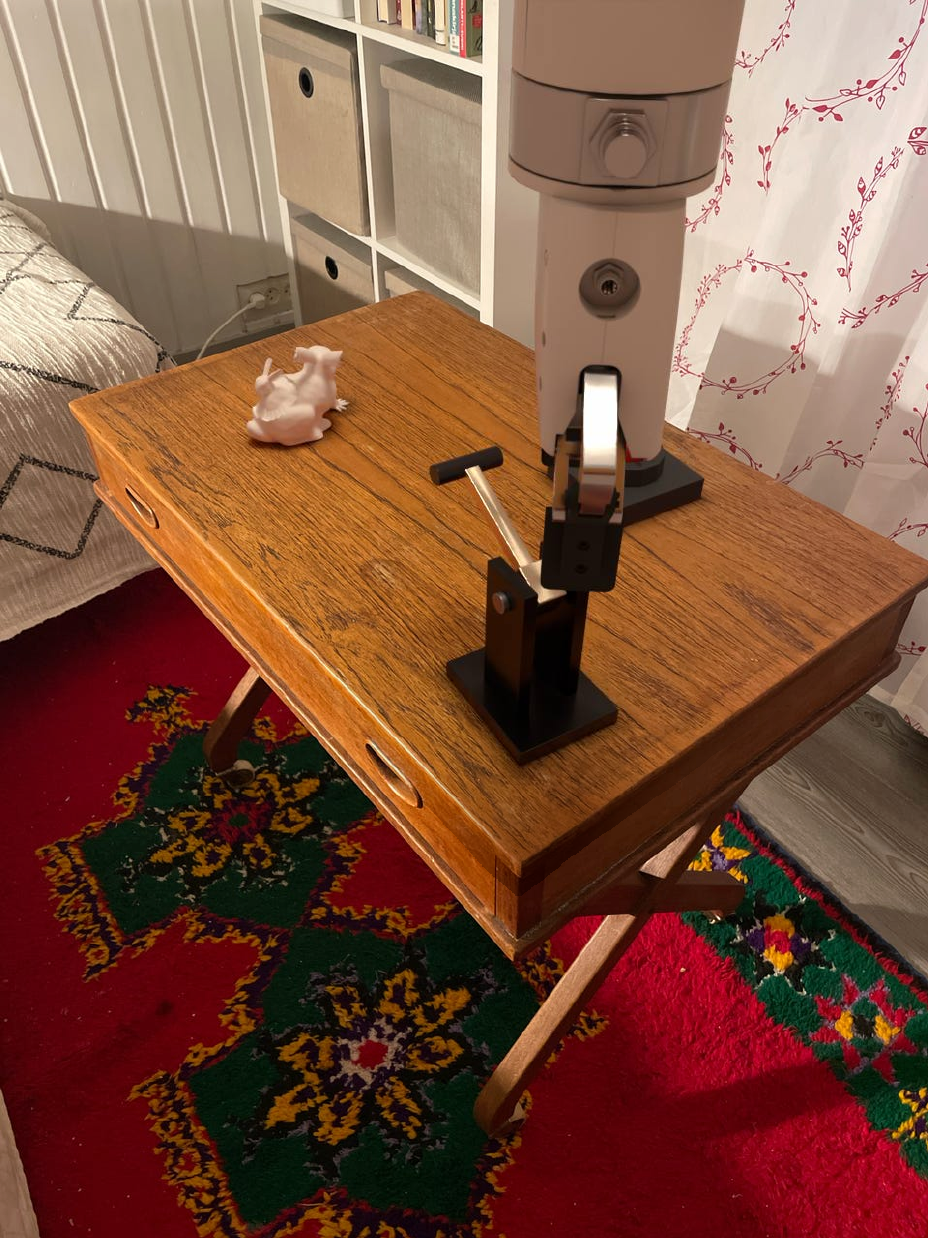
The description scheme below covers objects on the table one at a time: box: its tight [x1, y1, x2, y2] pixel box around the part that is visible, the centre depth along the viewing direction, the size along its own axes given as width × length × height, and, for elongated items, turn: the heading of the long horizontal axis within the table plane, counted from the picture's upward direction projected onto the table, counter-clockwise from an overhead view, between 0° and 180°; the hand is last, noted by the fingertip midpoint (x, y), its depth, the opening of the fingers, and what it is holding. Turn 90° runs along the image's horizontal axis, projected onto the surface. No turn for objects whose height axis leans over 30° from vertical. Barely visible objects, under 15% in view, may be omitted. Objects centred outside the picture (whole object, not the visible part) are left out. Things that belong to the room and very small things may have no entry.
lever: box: [428, 445, 567, 617], centre depth 63 cm, size 12×5×2 cm, turn 30°
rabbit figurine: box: [246, 345, 350, 446], centre depth 92 cm, size 12×8×10 cm, turn 125°
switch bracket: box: [445, 540, 619, 766], centre depth 65 cm, size 10×8×12 cm
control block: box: [546, 444, 705, 527], centre depth 87 cm, size 10×10×4 cm
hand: (574, 520), depth 46 cm, fingers open, 9 cm apart
